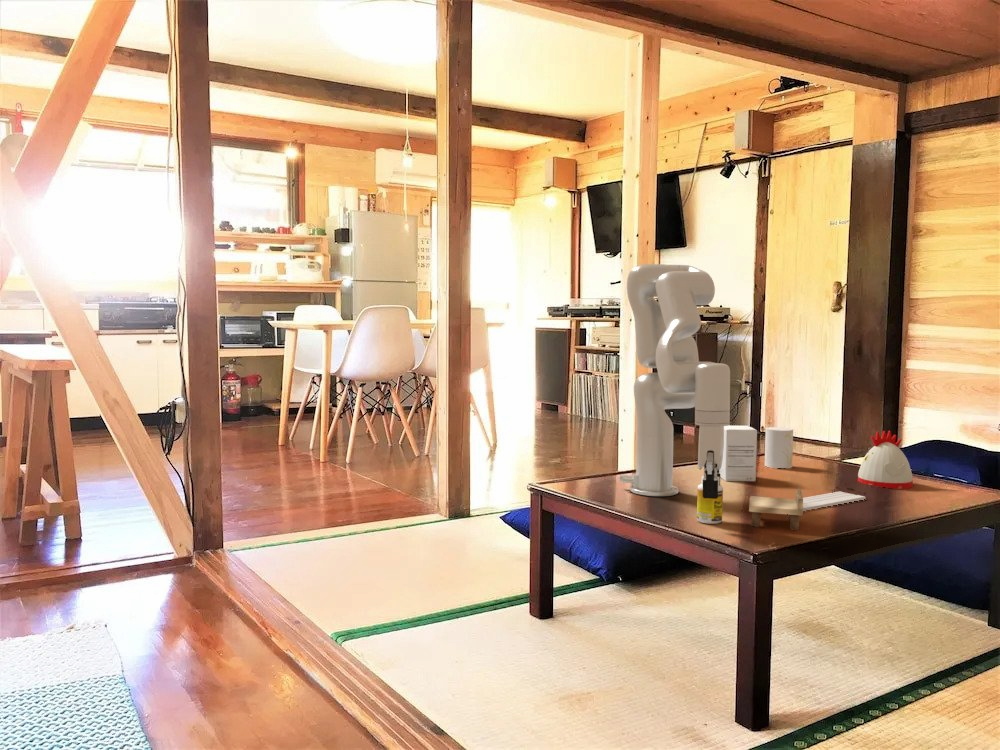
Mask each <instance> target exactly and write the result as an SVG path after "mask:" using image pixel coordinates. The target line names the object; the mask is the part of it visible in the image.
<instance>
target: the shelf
mask: <svg viewBox="0 0 1000 750" xmlns="http://www.w3.org/2000/svg"><path fill="white" fill-rule="evenodd" d="M803 498H804V497H803V492H802V489H801V488H796V489H795V498H784V497H768V496H767V497H766V496H755V495H749V505H748V508H749V509H748V512H750V513H751V527H752V526H755V527H754V528H760V527H761V513H763V514H778V515H787V514H788V521H789V522H790V523H789V529H790V530H791V529H793V530H792V531H799V530H800V516H804V515H803V514H804V512H803ZM759 526H760V527H759Z"/></svg>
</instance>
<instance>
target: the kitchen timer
mask: <svg viewBox="0 0 1000 750" xmlns="http://www.w3.org/2000/svg"><path fill="white" fill-rule="evenodd" d="M870 437H871V441H872V443H873V445H874V446H872V447H871V448H870V449H869V450H868V451H867V452H866V454H865V456H863V457H864V458H863V460H862V461H861V464H860V467H859V470H858V473H857V482H858V481H859V482H861V483H864V484H868V485H874V486H879V487H886V488H885V489H888V488H893V489H894V490H902V489H903V490H904V489H905V490H906V489H911V488H912V487H913V485H914V484H913V483H914V480H913V479H914V477H913V473H912V470H911V466H910V462H909V461H908V458H907V457H906V455H905V454H904V452H903V451H902V450H901V449H900V448H899V446H900V444H901V442H902V439H901V438H899V439H898V440H897V442H896V439H897V435H896V434H893V436H892V432H891V431H890V430H888V431H887V433H886V431H885V430H882V434H881V435H880V433H879V431H878V430H877V431H876V432H875V437H874V436H873V435H871V436H870ZM910 487H911V488H910ZM893 489H892V490H893Z"/></svg>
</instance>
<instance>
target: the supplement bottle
mask: <svg viewBox="0 0 1000 750" xmlns="http://www.w3.org/2000/svg"><path fill="white" fill-rule="evenodd" d="M703 480H704V475H703V476H701V480H700V481H701V483H700V484H698V485H697V501H696V502H697V503H696V505H697V506H696V520H697V521H698V523H702V524H706V525H716V524H720V523H722V521H723V507H724V506H723V505H724V502H723V500H724V499H723V498H724V497H723V496H724V488H723V486H722V485H721V477H720V478H719V477H718V476H717V480H718V498H717V499H709V498H703ZM719 484H720V485H719Z"/></svg>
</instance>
